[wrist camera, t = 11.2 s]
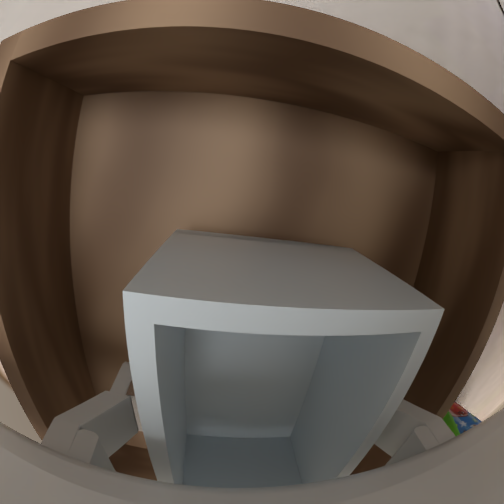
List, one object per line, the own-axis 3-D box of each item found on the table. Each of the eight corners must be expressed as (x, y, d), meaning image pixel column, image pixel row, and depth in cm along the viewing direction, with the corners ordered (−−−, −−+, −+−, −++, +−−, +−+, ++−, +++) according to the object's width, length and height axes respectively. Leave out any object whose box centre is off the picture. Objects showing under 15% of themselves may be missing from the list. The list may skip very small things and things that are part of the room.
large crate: (439, 139, 11) (527, 137, 5) (342, 445, 16) (366, 502, 11) (80, 83, 9) (1, 40, 3) (105, 435, 14) (86, 497, 8)
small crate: (351, 248, 9) (444, 309, 4) (294, 432, 12) (316, 509, 7) (177, 228, 9) (122, 290, 4) (178, 429, 11) (169, 512, 6)
